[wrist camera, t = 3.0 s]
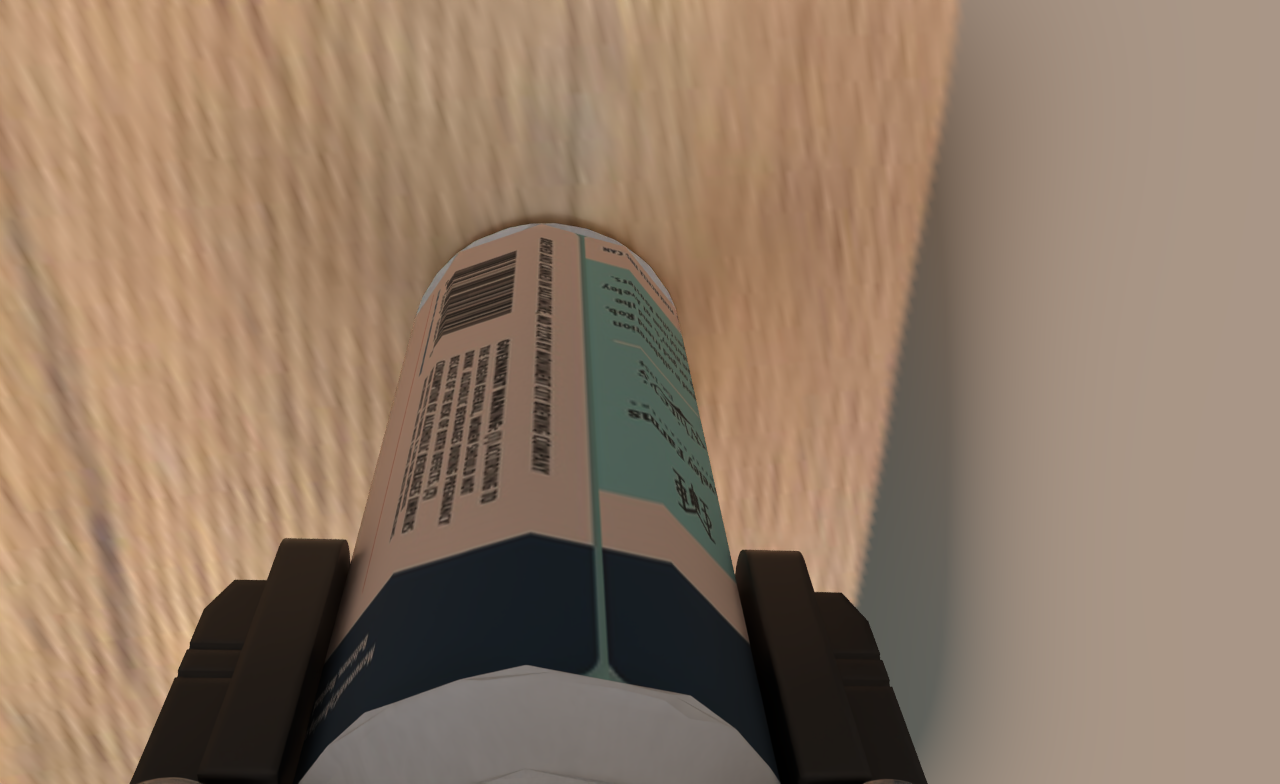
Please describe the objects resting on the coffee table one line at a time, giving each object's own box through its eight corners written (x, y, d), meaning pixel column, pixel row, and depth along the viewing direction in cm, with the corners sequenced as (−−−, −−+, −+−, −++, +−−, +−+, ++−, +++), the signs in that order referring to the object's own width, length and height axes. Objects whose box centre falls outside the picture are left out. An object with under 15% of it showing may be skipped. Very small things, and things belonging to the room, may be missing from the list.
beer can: (392, 413, 20) (219, 1078, 10) (448, 179, 18) (302, 719, 8) (633, 468, 21) (706, 1126, 11) (714, 253, 19) (899, 819, 9)
